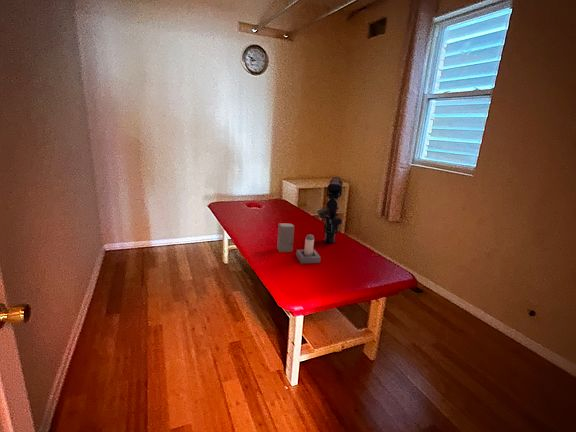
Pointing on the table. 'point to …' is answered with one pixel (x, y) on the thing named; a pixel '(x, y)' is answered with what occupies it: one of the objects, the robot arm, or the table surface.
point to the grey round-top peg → (309, 245)
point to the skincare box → (285, 237)
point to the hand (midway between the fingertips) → (329, 230)
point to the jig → (308, 257)
